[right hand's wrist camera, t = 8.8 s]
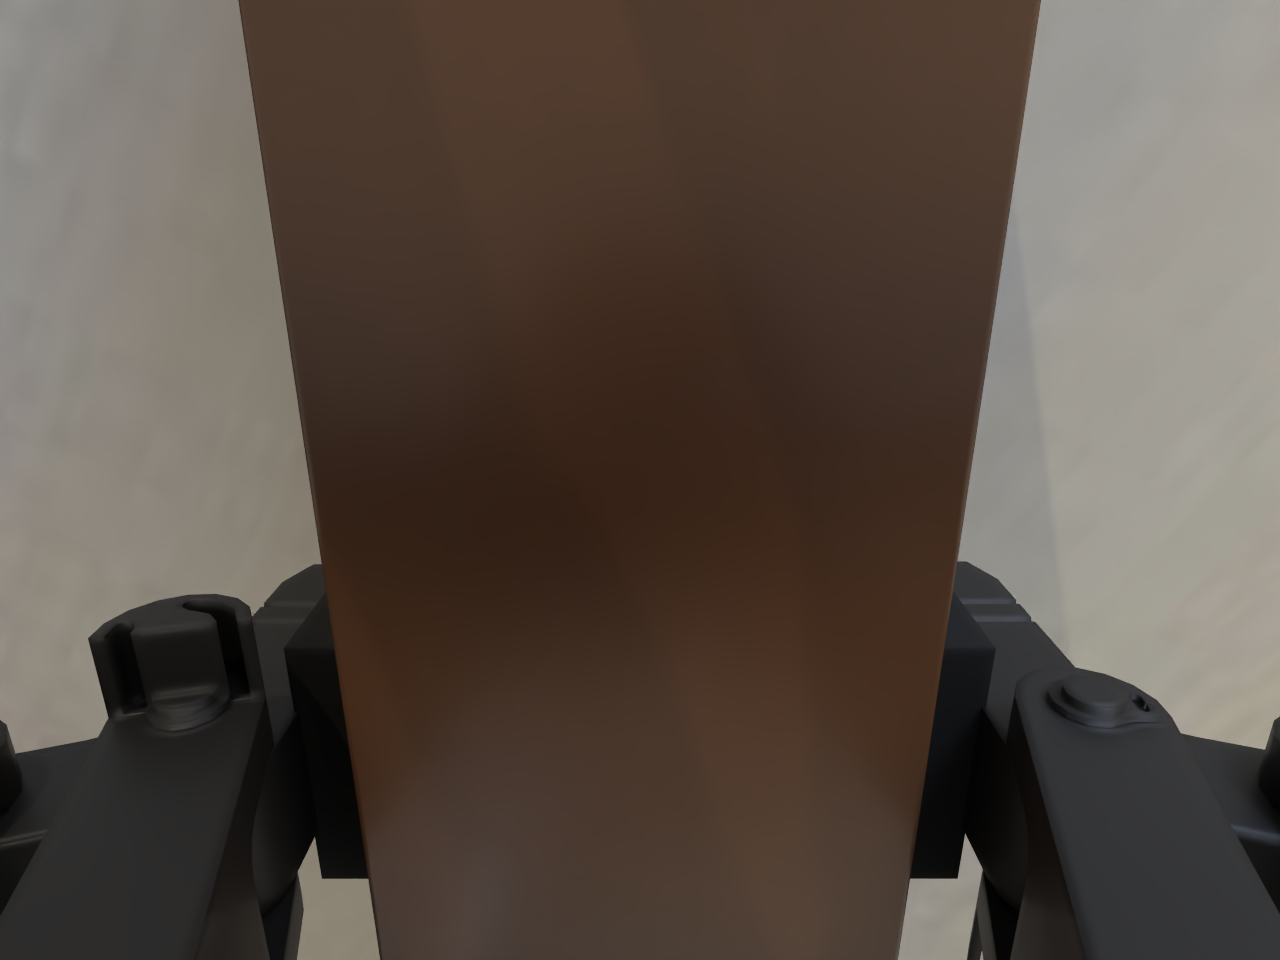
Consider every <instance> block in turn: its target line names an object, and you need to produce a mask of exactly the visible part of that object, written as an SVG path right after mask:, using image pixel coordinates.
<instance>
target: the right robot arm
mask: <svg viewBox="0 0 1280 960" xmlns="http://www.w3.org/2000/svg"><path fill="white" fill-rule="evenodd" d="M88 640H89V644H90V648H91V651H92V655H93V659H94V663H95V667H96V671H97V675H98V679H99V682H100V686H101V690H102V694H103V698H104V702H105V706H106V710H107V713H108V717H109V718H108V720H107V722H106V724H105V726H104V728H103V729H102V731H101V733H100V735H99V737H98V738H94V739H90V740H86V741H81V742H76V743H70V744H65V745H60V746H54V747H49V748H44V749H39V750H33V751H28V752H23V753H17V754H15V751H14V748H13V744H12V741H11V738H10V735H9V731H8V728H7V725H6V724H5V723H3V722H2V721H1V720H0V960H297V954H298V947H299V940H300V932H301V925H302V918H303V911H304V909H303V901H302V894H301V888H300V882H299V877H298V870H299V868H300V866H301V864H302V861H303V859H304V857H305V855H306V853H307V851H308V849H309V847H310V845H311V843H312V841H313V839H314V837H315V839H316V845H317V851H318V857H319V863H320V869H321V875H322V879H368V873H367V866H366V859H365V852H364V845H363V839H362V832H361V825H360V818H359V812H358V805H357V798H356V791H355V785H354V778H353V771H352V764H351V758H350V751H349V744H348V737H347V731H346V724H345V717H344V710H343V703H342V697H341V690H340V683H339V676H338V670H337V663H336V656H335V649H334V643H333V636H332V629H331V622H330V616H329V609H328V602H327V595H326V589H325V582H324V575H323V568H322V564H313V565H312V566H310V567H308V568H306V569H305V570H303V571H301V572H299V573H298V574H296V575H294V576H292V577H291V578H289V579H287V580H285V581H284V582H282V583H281V584H280V586H279V587H278V588H277V589H276V590H275V591H274V593H273V594H272V595H271V596H270V597H269V598H268V599H267V601H266V602H265V603H264V607H260V609H259V610H258V611H257V612H256V613H255V614H254V615H253V617H252V616H251V610H250V607H249V606H248V605H246V604H245V603H244V602H242V601H241V600H239V599H238V598H234V597H229V596H224V595H218V594H201V595H185V596H180V597H174V598H169V599H163V600H158V601H155V602H152V603H149V604H146V605H143V606H140V607H137V608H134V609H131V610H129V611H127V612H125V613H123V614H121V615H119V616H117V617H115V618H114V619H112V620H110V621H108V622H106V623H104V624H103V625H102V626H101V627H100V628H99V629H98V630H97V631H96V632H94V633H93V634H92V635H91V636H90V637H89V638H88ZM965 833H966V836H967V838H968V840H969V842H970V844H971V846H972V848H973V850H974V852H975V854H976V856H977V858H978V860H979V862H980V864H981V866H982V868H983V871H982V877H981V882H980V888H979V893H978V899H977V904H976V910H975V916H974V921H973V927H972V932H971V938H970V943H969V949H968V956H967V960H980V956H981V951H982V952H983V959H984V960H1280V717H1278V718H1277V719H1276V720H1274V723H1273V726H1272V729H1271V733H1270V736H1269V739H1268V742H1267V745H1266V749H1265V750H1263V749H1257V748H1252V747H1247V746H1241V745H1236V744H1231V743H1225V742H1220V741H1215V740H1209V739H1204V738H1199V737H1194V736H1190V735H1186V734H1182V733H1180V731H1179V730H1178V728H1177V726H1176V724H1175V722H1174V721H1173V719H1172V717H1171V716H1170V715H1169V713H1168V712H1167V711H1166V710H1165V709H1164V708H1163V707H1162V706H1161V704H1160V703H1159V702H1158V701H1157V700H1156V699H1154V698H1153V697H1151V696H1149V695H1148V694H1146V693H1145V692H1143V691H1142V690H1140V689H1138V688H1137V687H1135V686H1134V685H1131V684H1129V683H1126V682H1124V681H1121V680H1119V679H1116V678H1114V677H1111V676H1109V675H1106V674H1103V673H1098V672H1093V671H1089V670H1084V669H1080V668H1075V667H1074V666H1073V664H1072V663H1071V662H1070V661H1069V660H1068V659H1067V658H1066V656H1065V655H1064V654H1063V653H1062V652H1061V651H1060V650H1059V648H1058V647H1057V646H1056V645H1055V644H1054V643H1053V642H1052V641H1051V639H1050V638H1049V637H1048V636H1047V635H1046V634H1045V633H1044V631H1043V630H1042V629H1041V628H1040V627H1039V626H1038V625H1037V623H1036V622H1031V617H1030V615H1029V614H1028V613H1027V612H1026V611H1025V610H1024V609H1023V608H1022V606H1021V605H1020V604H1016V600H1015V598H1014V597H1013V596H1012V595H1011V594H1010V593H1009V592H1008V590H1007V589H1006V588H1005V587H1004V586H1003V585H1002V584H1001V583H1000V581H999V580H998V579H996V578H995V577H993V576H991V575H989V574H987V573H986V572H984V571H982V570H980V569H979V568H977V567H975V566H973V565H972V564H970V563H968V562H957V566H956V573H955V579H954V586H953V593H952V599H951V606H950V613H949V620H948V626H947V633H946V640H945V646H944V653H943V660H942V667H941V673H940V680H939V687H938V693H937V700H936V707H935V713H934V720H933V727H932V734H931V740H930V747H929V754H928V760H927V767H926V774H925V781H924V787H923V794H922V801H921V807H920V814H919V821H918V827H917V834H916V841H915V848H914V854H913V861H912V868H911V874H910V878H938V879H957V878H958V872H959V866H960V860H961V854H962V848H963V842H964V836H965Z"/></svg>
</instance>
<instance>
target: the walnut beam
mask: <svg viewBox="0 0 1280 960" xmlns="http://www.w3.org/2000/svg"><path fill="white" fill-rule="evenodd" d="M1040 3H1041V0H239V7H240V14H241V21H242V27H243V34H244V41H245V48H246V54H247V61H248V68H249V75H250V81H251V88H252V95H253V102H254V108H255V115H256V122H257V129H258V135H259V142H260V149H261V156H262V163H263V169H264V176H265V183H266V190H267V196H268V203H269V210H270V217H271V223H272V230H273V237H274V244H275V250H276V257H277V264H278V271H279V277H280V284H281V291H282V298H283V305H284V311H285V318H286V325H287V332H288V338H289V345H290V352H291V359H292V365H293V372H294V379H295V386H296V392H297V399H298V406H299V413H300V419H301V426H302V433H303V440H304V447H305V453H306V460H307V467H308V474H309V480H310V487H311V494H312V501H313V507H314V514H315V521H316V528H317V534H318V541H319V548H320V555H321V561H322V568H323V575H324V582H325V589H326V595H327V602H328V609H329V616H330V622H331V629H332V636H333V643H334V649H335V656H336V663H337V670H338V676H339V683H340V690H341V697H342V703H343V710H344V717H345V724H346V731H347V737H348V744H349V751H350V758H351V764H352V771H353V778H354V785H355V791H356V798H357V805H358V812H359V818H360V825H361V832H362V839H363V845H364V852H365V859H366V866H367V873H368V879H369V886H370V893H371V900H372V906H373V913H374V920H375V927H376V933H377V940H378V947H379V954H380V960H898V955H899V948H900V941H901V935H902V928H903V921H904V915H905V908H906V901H907V894H908V888H909V881H910V874H911V868H912V861H913V854H914V848H915V841H916V834H917V827H918V821H919V814H920V807H921V801H922V794H923V787H924V781H925V774H926V767H927V760H928V754H929V747H930V740H931V734H932V727H933V720H934V713H935V707H936V700H937V693H938V687H939V680H940V673H941V667H942V660H943V653H944V646H945V640H946V633H947V626H948V620H949V613H950V606H951V599H952V593H953V586H954V579H955V573H956V566H957V559H958V553H959V546H960V539H961V532H962V526H963V519H964V512H965V506H966V499H967V492H968V486H969V479H970V472H971V465H972V459H973V452H974V445H975V439H976V432H977V425H978V418H979V412H980V405H981V398H982V392H983V385H984V378H985V372H986V365H987V358H988V351H989V345H990V338H991V331H992V325H993V318H994V311H995V305H996V298H997V291H998V284H999V278H1000V271H1001V264H1002V258H1003V251H1004V244H1005V237H1006V231H1007V224H1008V217H1009V211H1010V204H1011V197H1012V191H1013V184H1014V177H1015V170H1016V164H1017V157H1018V150H1019V144H1020V137H1021V130H1022V123H1023V117H1024V110H1025V103H1026V97H1027V90H1028V83H1029V77H1030V70H1031V63H1032V56H1033V50H1034V43H1035V36H1036V30H1037V23H1038V16H1039V10H1040Z"/></svg>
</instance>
